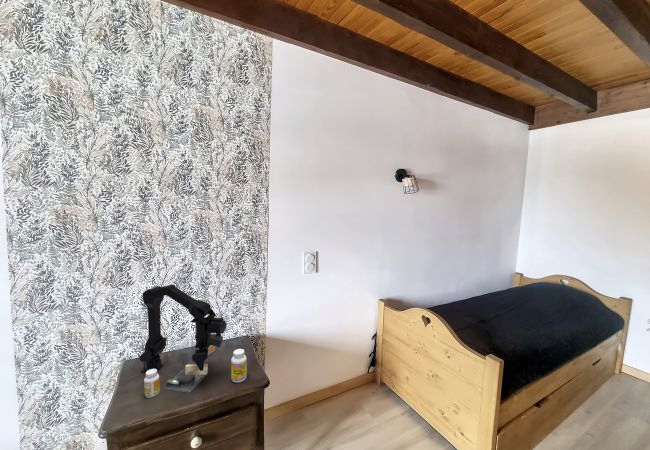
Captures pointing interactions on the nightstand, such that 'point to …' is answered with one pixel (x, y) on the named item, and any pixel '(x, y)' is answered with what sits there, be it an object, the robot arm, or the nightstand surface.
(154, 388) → the supplement bottle
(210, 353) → the skincare box
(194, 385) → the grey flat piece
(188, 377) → the knob
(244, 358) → the supplement bottle
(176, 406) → the nightstand surface
